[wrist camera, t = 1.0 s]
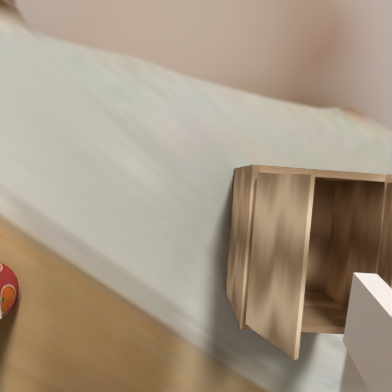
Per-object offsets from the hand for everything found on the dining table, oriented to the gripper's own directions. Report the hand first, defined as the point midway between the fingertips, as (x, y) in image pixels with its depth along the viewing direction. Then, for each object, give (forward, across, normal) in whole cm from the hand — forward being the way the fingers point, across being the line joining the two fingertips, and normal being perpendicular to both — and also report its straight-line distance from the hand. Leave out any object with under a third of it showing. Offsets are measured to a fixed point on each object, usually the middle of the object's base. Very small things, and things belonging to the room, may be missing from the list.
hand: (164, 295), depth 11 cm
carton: (+24, -9, +6) cm, 26 cm away
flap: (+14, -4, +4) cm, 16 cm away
